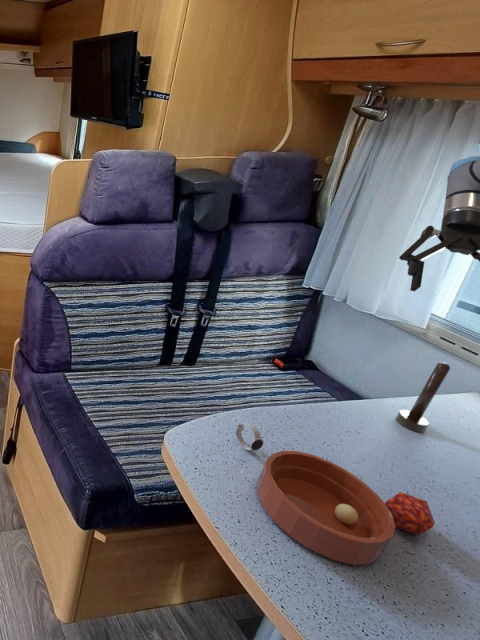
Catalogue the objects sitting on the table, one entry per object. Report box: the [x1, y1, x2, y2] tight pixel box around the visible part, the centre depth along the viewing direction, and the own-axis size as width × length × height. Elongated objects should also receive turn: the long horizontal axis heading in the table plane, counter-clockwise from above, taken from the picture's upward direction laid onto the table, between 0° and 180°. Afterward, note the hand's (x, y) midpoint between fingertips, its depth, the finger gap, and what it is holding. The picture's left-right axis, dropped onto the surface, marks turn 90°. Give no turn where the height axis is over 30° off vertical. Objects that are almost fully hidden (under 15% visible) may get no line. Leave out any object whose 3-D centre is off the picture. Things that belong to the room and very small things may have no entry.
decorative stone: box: [384, 491, 436, 536], centre depth 77 cm, size 6×7×8 cm
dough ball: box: [335, 504, 358, 524], centre depth 77 cm, size 3×3×3 cm
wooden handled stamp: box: [395, 361, 451, 434], centre depth 100 cm, size 5×5×16 cm
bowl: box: [256, 450, 396, 566], centre depth 78 cm, size 18×18×6 cm
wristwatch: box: [234, 422, 264, 451], centre depth 92 cm, size 3×5×5 cm, turn 11°
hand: (455, 298), depth 101 cm, fingers open, 13 cm apart
